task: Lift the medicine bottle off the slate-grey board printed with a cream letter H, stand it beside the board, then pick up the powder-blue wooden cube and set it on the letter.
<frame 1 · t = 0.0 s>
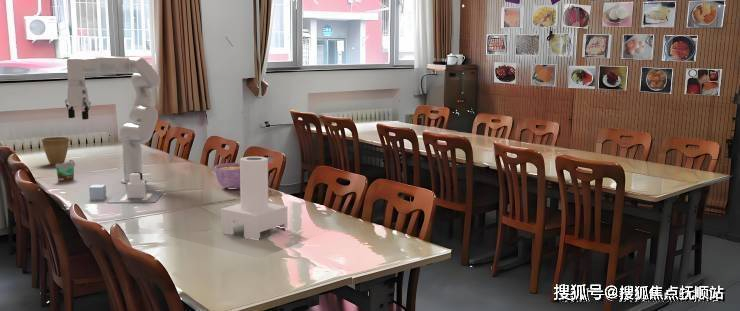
hand: (78, 118, 322), 37 cm above the table, tool pointing down, fingers open, 9 cm apart
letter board: (136, 197, 320), on the table
blue cube: (98, 198, 318), on the table
food container: (68, 180, 357), on the table
plant pot: (57, 164, 401), on the table
bowl of food: (233, 188, 346), on the table
medicine bottle: (136, 197, 320), resting on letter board
paper towel holder: (254, 232, 267), on the table
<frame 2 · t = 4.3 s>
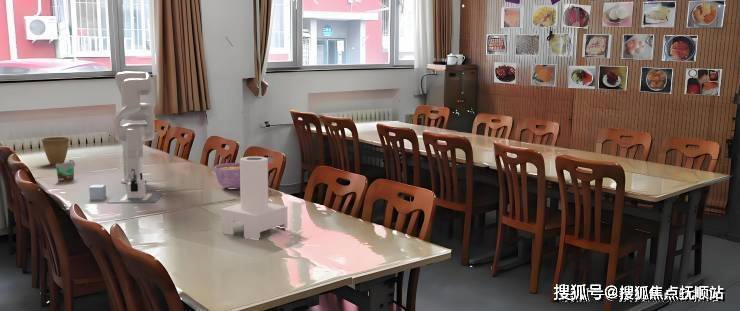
hand: (136, 189, 320), 4 cm above the table, tool pointing down, fingers closed on medicine bottle, 7 cm apart
medicine bottle: (136, 197, 320), resting on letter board, touching gripper
everything else where it was.
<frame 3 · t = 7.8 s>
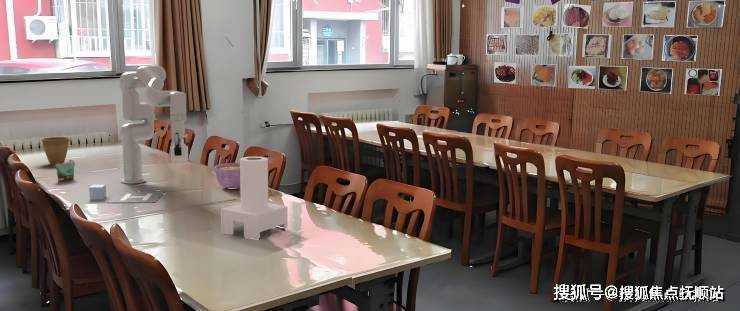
hand: (179, 153, 320), 22 cm above the table, tool pointing down, fingers closed on medicine bottle, 7 cm apart
medicine bottle: (179, 161, 320), point 18 cm above the table, touching gripper
everything else where it was.
when the fingers open (5 cm above the table, at t = 11.4 s): medicine bottle drops 1 cm, on the table.
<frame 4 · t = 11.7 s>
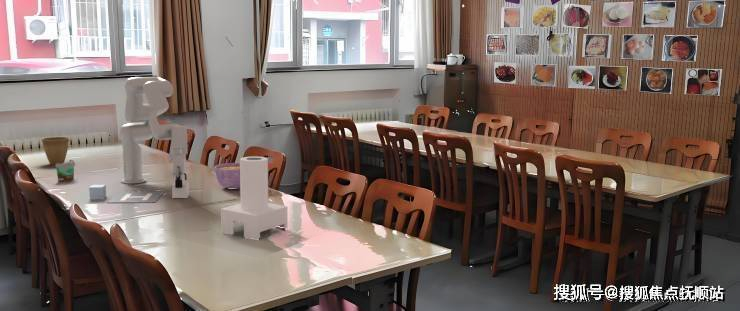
hand: (180, 185, 322), 6 cm above the table, tool pointing down, fingers open, 9 cm apart
medicine bottle: (180, 197, 323), on the table
everything else where it was.
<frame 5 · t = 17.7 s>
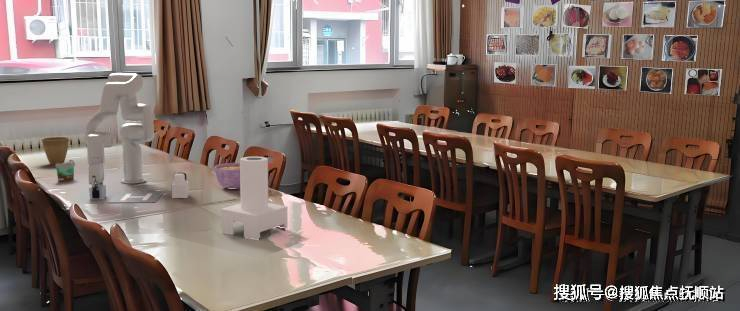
hand: (98, 196, 318), 1 cm above the table, tool pointing down, fingers closed on blue cube, 6 cm apart
blue cube: (98, 198, 318), on the table, touching gripper
everything else where it was.
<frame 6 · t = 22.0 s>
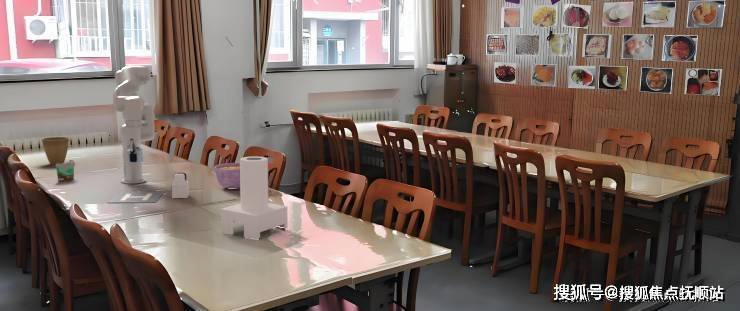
hand: (135, 160, 317), 18 cm above the table, tool pointing down, fingers closed on blue cube, 6 cm apart
blue cube: (135, 162, 318), point 18 cm above the table, touching gripper
everything else where it was.
when the fingers open (3 cm above the table, at t = 25.9 s): blue cube drops 1 cm, resting on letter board.
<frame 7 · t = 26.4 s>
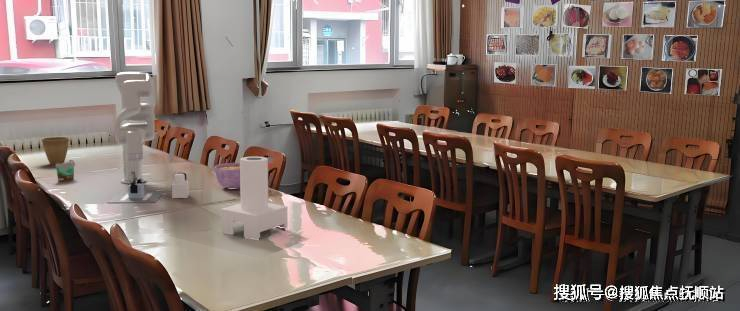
hand: (136, 190, 320), 3 cm above the table, tool pointing down, fingers open, 9 cm apart
blue cube: (136, 196, 320), resting on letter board
everything else where it was.
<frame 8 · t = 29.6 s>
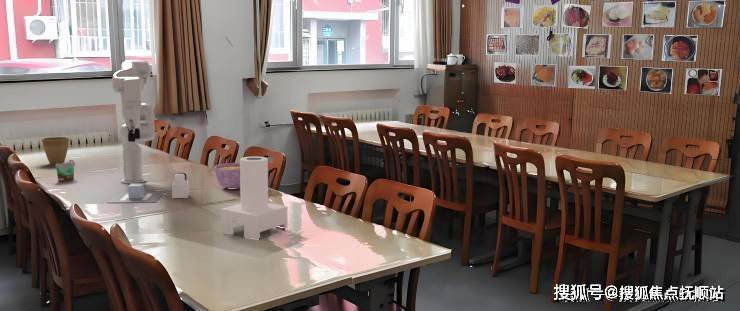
hand: (134, 140, 316), 28 cm above the table, tool pointing down, fingers open, 9 cm apart
nothing on the table moved.
at the end: blue cube inside the target area on the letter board (0.0 cm from its centre), point 0.3 cm above the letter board's base; medicine bottle touching table; medicine bottle tilted 0° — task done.
